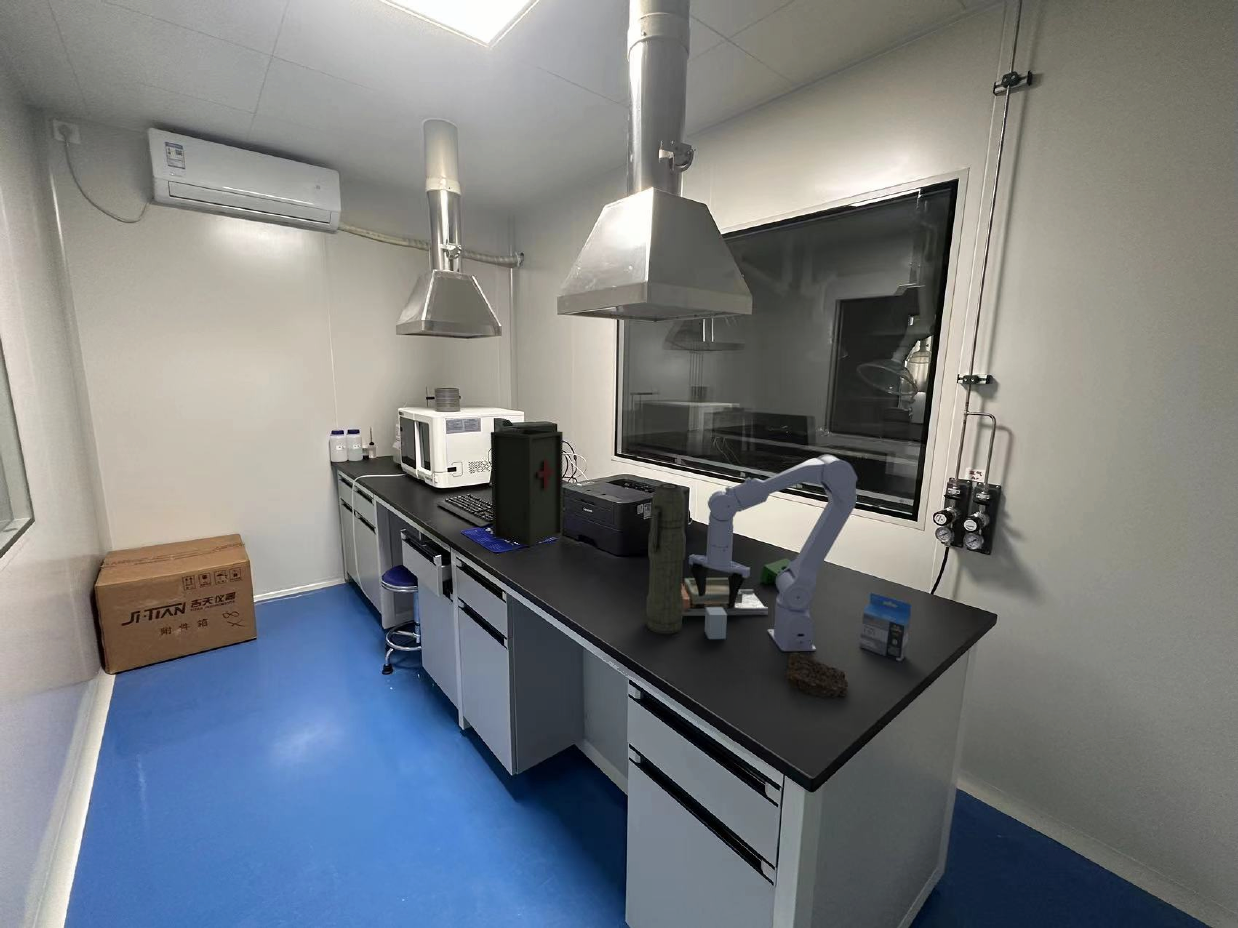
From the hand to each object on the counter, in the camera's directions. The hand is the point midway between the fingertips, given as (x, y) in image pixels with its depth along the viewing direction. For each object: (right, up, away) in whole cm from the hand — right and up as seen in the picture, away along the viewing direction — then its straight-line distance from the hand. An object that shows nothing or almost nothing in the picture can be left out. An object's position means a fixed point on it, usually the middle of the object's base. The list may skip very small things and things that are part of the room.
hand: (716, 599), depth 120 cm
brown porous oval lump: (+16, -13, -19) cm, 28 cm away
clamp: (+26, -4, +34) cm, 43 cm away
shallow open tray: (+2, -5, +17) cm, 18 cm away
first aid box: (-58, +4, +74) cm, 94 cm away
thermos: (-12, -8, +6) cm, 15 cm away
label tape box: (+36, -11, -5) cm, 38 cm away
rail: (+4, -6, +18) cm, 19 cm away
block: (0, -9, +1) cm, 9 cm away
